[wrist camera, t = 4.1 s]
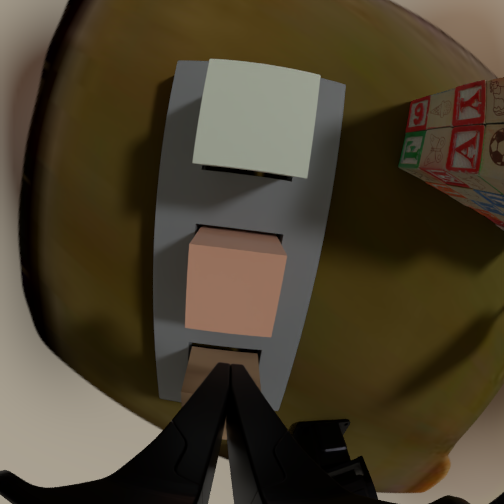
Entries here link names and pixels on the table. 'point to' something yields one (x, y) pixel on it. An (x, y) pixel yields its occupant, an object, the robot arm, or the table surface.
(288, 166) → the pale green cube
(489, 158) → the stack of blocks
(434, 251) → the table surface
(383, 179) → the table surface
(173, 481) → the robot arm
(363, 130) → the table surface
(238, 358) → the walnut key
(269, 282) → the salmon pink cube
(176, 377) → the key board
